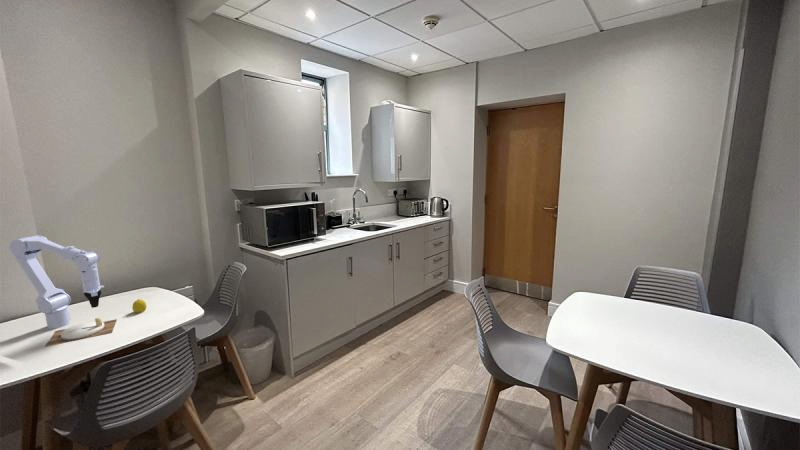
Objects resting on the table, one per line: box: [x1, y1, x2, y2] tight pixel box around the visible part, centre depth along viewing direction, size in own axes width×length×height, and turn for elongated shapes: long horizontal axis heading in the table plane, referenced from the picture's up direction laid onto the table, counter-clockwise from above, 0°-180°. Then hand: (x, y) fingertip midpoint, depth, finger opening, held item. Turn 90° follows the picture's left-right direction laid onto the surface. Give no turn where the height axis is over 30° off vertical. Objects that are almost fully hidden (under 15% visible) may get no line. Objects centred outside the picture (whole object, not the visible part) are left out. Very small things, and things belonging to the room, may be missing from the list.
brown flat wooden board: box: [44, 318, 118, 348], centre depth 146 cm, size 16×21×2 cm
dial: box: [61, 317, 105, 340], centre depth 145 cm, size 14×14×5 cm
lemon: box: [132, 298, 147, 314], centre depth 166 cm, size 6×6×8 cm
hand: (94, 306), depth 151 cm, fingers closed
